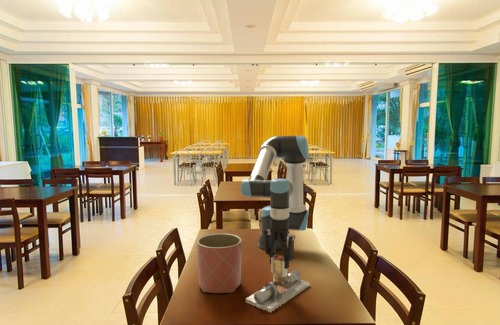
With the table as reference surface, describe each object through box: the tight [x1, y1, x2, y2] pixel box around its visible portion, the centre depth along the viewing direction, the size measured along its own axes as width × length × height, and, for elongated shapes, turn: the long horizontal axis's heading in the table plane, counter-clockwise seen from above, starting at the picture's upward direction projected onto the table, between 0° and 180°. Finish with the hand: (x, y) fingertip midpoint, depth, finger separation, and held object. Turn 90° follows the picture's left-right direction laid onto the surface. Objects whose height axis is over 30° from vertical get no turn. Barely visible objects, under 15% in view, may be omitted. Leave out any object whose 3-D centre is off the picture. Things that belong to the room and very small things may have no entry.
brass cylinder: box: [272, 254, 285, 283], centre depth 137 cm, size 5×5×10 cm
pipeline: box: [245, 269, 310, 314], centre depth 137 cm, size 28×12×6 cm, turn 140°
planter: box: [196, 233, 243, 294], centre depth 144 cm, size 19×19×20 cm
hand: (279, 273), depth 137 cm, fingers closed on brass cylinder, 5 cm apart
